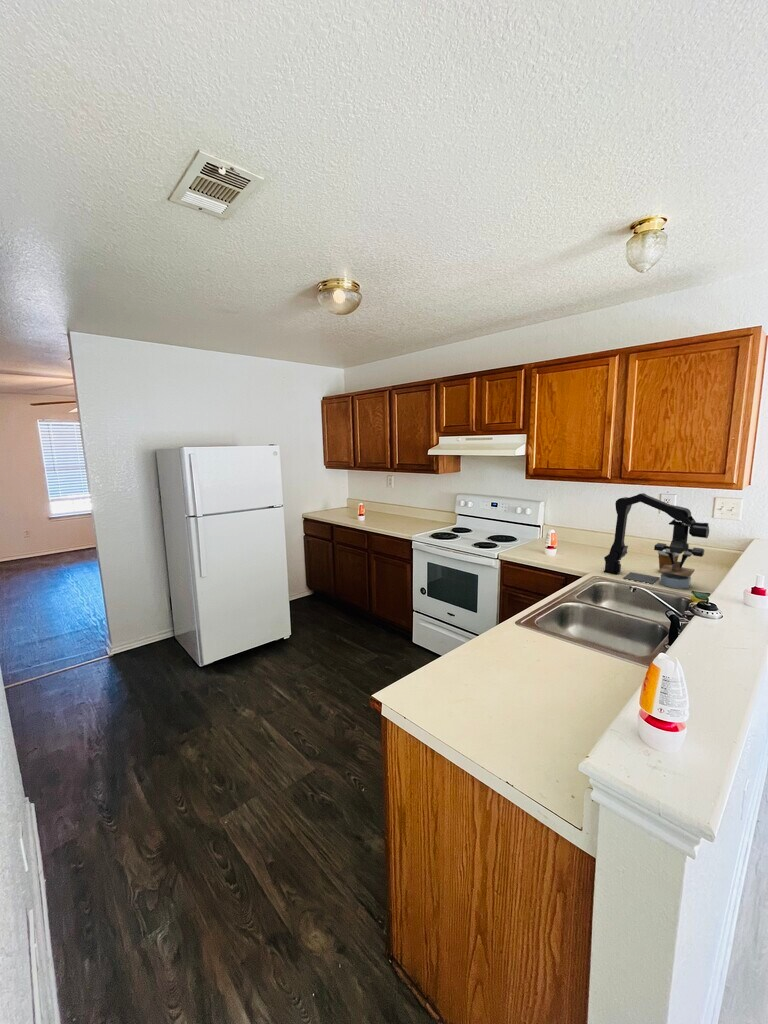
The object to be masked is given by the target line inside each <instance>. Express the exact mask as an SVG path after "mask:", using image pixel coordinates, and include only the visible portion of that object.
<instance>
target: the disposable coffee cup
mask: <svg viewBox="0 0 768 1024" xmlns="http://www.w3.org/2000/svg"><path fill="white" fill-rule="evenodd" d="M665 552H666V550H663V551H657V554H658V566H659V567H658V568H659V569H660V568H661V567H662V566H664V565H671V566H672V563H671V559H670V557H669V555H668V554H666V553H665ZM680 555H681V554H678V553H675V562H676V561H678V560H679V556H680ZM659 569H658V570H659ZM662 573H663V572H661V573H660V574H662Z"/></svg>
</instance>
